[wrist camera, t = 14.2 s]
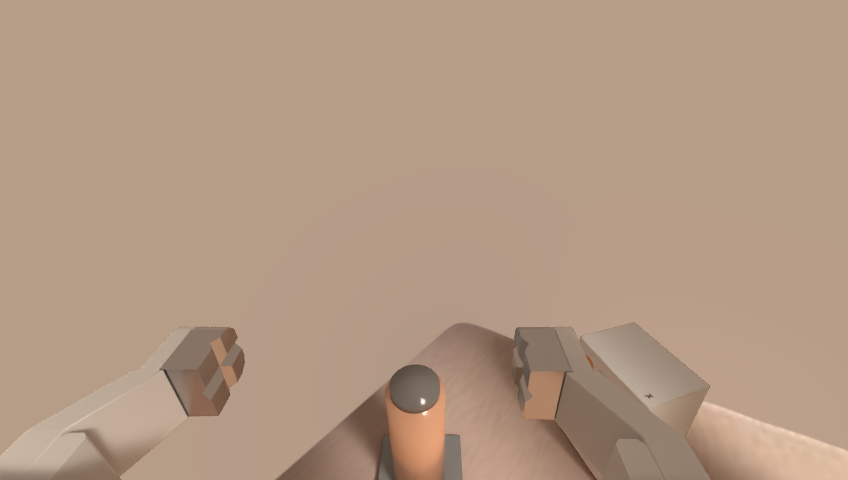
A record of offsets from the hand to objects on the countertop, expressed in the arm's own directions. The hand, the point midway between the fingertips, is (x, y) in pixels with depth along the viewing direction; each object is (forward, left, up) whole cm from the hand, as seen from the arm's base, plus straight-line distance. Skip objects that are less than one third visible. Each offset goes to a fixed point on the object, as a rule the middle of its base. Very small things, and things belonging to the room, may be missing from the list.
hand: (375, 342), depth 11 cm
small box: (-19, -15, -30) cm, 39 cm away
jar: (0, -12, -29) cm, 32 cm away
